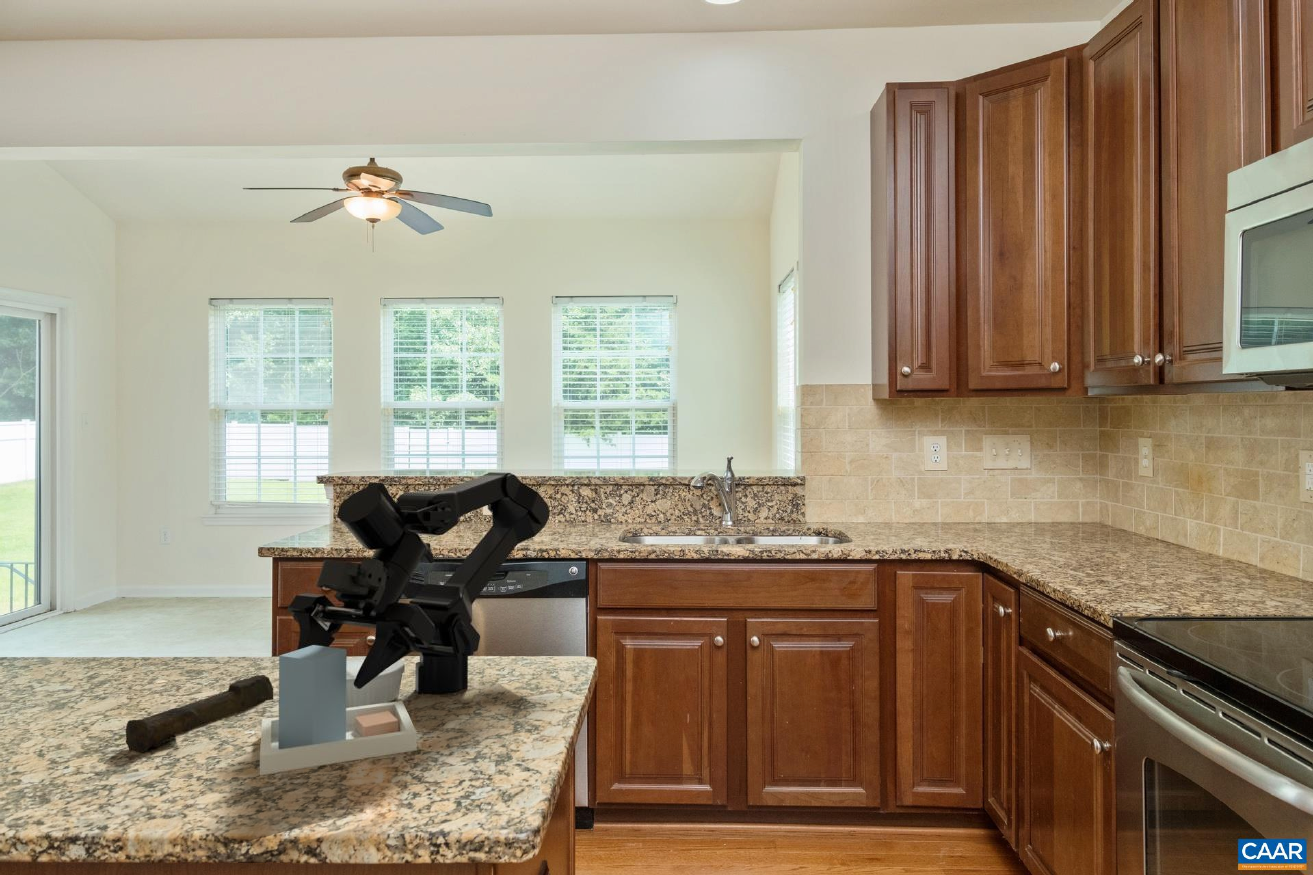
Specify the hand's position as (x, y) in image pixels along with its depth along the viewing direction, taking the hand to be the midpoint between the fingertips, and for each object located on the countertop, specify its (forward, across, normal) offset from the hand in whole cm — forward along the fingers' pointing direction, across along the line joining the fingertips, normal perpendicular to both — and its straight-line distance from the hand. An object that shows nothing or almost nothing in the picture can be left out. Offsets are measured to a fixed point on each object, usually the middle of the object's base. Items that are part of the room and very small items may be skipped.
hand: (325, 682), depth 92 cm
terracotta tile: (+1, +3, +9) cm, 9 cm away
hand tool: (+5, -20, +7) cm, 22 cm away
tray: (+5, +1, +6) cm, 8 cm away
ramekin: (-4, -8, +16) cm, 19 cm away
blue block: (+6, 0, +4) cm, 7 cm away
